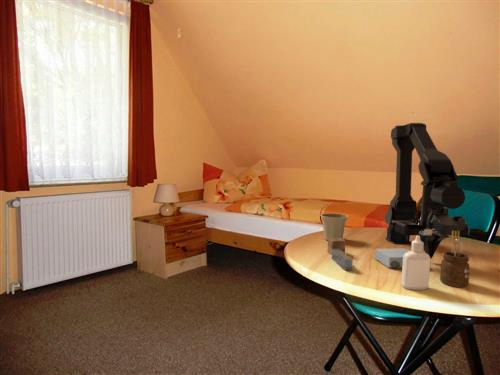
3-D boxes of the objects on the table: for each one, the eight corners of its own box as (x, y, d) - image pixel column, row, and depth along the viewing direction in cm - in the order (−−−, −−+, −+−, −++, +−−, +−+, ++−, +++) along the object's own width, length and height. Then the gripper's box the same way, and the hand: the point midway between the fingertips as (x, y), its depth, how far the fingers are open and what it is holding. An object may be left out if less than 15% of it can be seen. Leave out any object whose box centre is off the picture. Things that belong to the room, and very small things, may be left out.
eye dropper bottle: (428, 293, 77) (432, 239, 76) (400, 288, 80) (404, 236, 78) (428, 286, 81) (431, 235, 80) (401, 282, 83) (404, 232, 82)
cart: (403, 257, 103) (403, 247, 103) (422, 268, 93) (423, 257, 93) (373, 257, 102) (374, 248, 102) (390, 269, 92) (391, 258, 92)
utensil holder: (440, 285, 82) (444, 234, 80) (438, 276, 87) (441, 229, 86) (470, 289, 79) (474, 237, 78) (466, 280, 85) (469, 232, 84)
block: (340, 251, 108) (340, 237, 108) (344, 255, 104) (345, 240, 104) (327, 252, 108) (328, 237, 107) (331, 256, 104) (332, 241, 103)
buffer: (338, 258, 101) (339, 248, 101) (352, 270, 91) (352, 259, 91) (331, 258, 101) (332, 248, 100) (344, 270, 91) (345, 259, 91)
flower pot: (314, 237, 126) (315, 213, 125) (335, 235, 130) (336, 212, 129) (330, 244, 117) (331, 218, 116) (352, 241, 121) (353, 216, 120)
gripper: (418, 207, 88) (414, 268, 90) (487, 207, 90) (482, 266, 91) (395, 201, 99) (392, 255, 101) (457, 201, 101) (453, 254, 102)
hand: (429, 258), depth 98 cm, fingers closed
